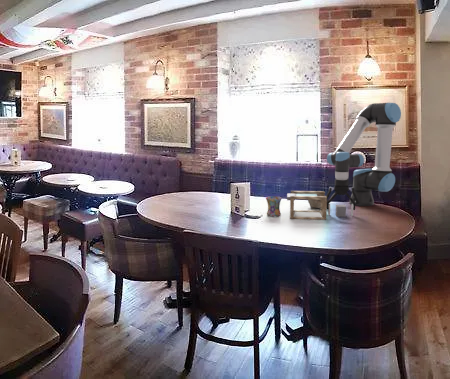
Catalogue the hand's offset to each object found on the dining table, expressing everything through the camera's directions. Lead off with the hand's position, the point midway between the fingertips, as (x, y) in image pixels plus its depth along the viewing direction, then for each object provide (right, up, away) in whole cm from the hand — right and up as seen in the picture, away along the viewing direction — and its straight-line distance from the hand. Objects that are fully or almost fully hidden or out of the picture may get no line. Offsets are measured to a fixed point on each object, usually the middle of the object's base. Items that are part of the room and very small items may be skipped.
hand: (340, 215), depth 235 cm
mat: (-19, 0, +1) cm, 19 cm away
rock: (-9, +3, +22) cm, 24 cm away
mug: (-39, 0, +5) cm, 39 cm away
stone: (0, 0, 0) cm, 0 cm away
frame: (-19, 0, +1) cm, 19 cm away
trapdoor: (-23, +10, 0) cm, 25 cm away
